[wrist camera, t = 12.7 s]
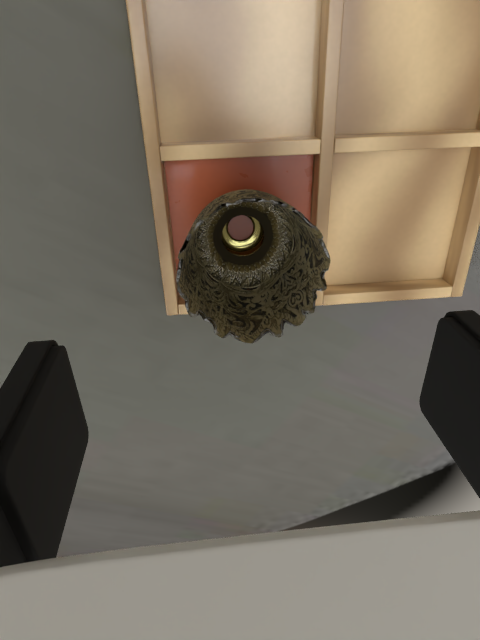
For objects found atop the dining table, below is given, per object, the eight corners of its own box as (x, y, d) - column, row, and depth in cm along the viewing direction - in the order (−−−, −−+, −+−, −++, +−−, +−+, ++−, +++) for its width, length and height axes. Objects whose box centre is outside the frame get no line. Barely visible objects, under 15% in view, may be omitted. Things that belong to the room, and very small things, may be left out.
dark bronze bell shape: (321, 225, 28) (361, 274, 21) (242, 300, 30) (254, 367, 23) (239, 139, 25) (254, 163, 18) (157, 230, 27) (143, 282, 20)
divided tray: (168, 301, 31) (166, 315, 29) (120, -79, 21) (113, -94, 19) (446, 283, 32) (461, 296, 30) (530, -85, 22) (560, -100, 20)
